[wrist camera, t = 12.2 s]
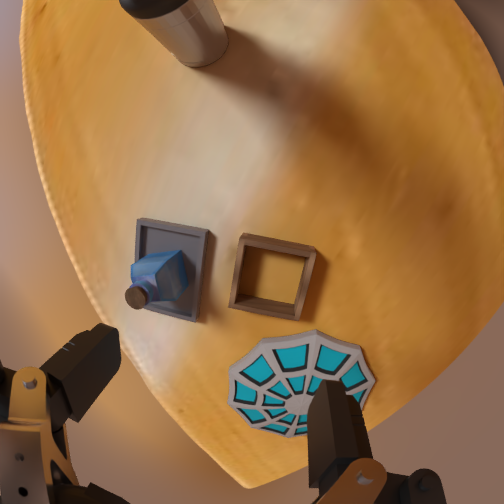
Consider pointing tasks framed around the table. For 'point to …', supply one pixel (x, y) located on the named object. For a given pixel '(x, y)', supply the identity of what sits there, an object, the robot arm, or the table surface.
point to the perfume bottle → (157, 279)
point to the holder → (267, 305)
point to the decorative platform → (293, 379)
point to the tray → (193, 251)
